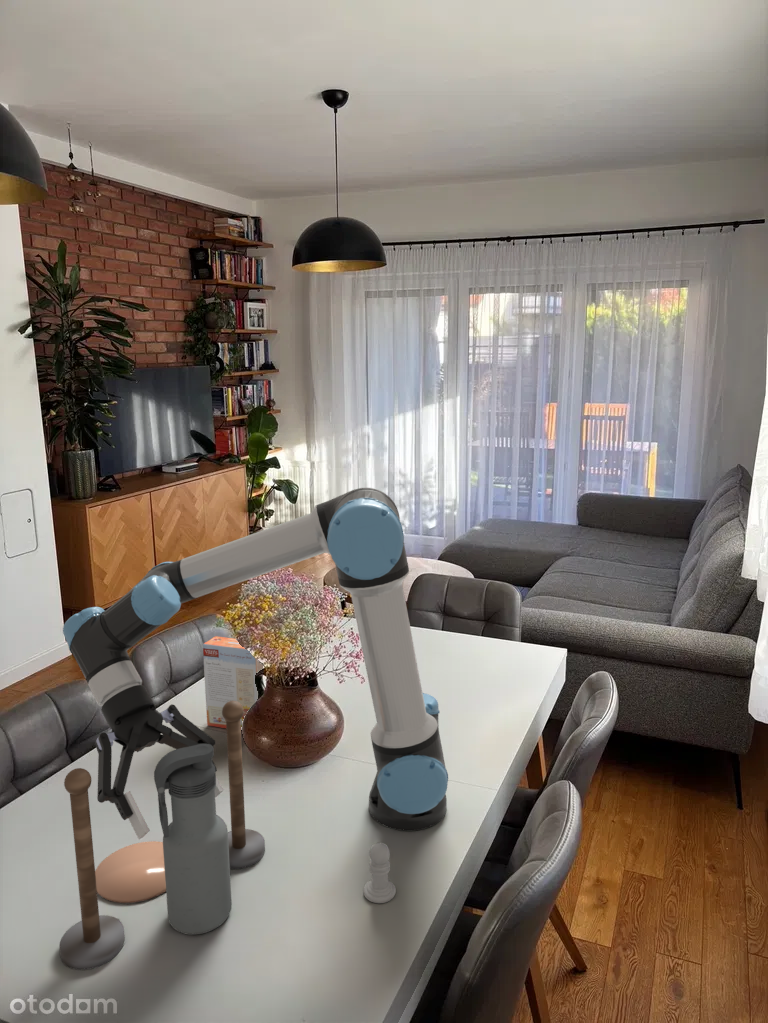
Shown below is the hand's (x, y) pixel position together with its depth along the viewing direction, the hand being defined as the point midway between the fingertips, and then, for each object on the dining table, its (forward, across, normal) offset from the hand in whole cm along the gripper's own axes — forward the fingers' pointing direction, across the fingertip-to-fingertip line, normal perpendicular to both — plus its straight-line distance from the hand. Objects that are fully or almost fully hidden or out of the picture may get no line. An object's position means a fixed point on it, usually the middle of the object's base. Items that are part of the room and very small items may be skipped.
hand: (183, 814), depth 116 cm
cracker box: (-18, -46, -43) cm, 65 cm away
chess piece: (+27, -22, +2) cm, 35 cm away
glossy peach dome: (+2, 0, -22) cm, 22 cm away
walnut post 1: (+8, +13, -16) cm, 22 cm away
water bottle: (+14, -1, -11) cm, 17 cm away
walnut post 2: (+8, -15, -16) cm, 23 cm away
